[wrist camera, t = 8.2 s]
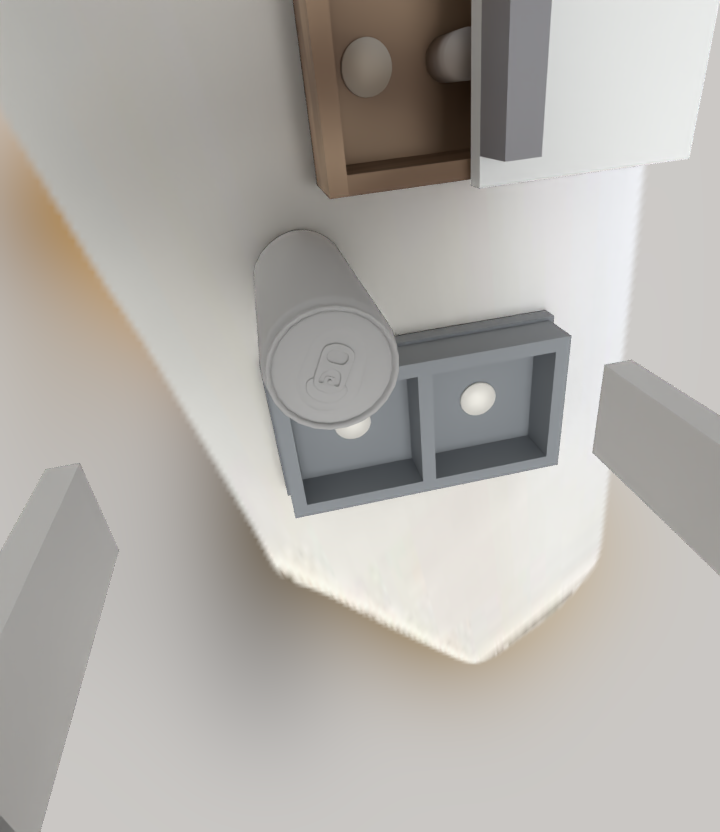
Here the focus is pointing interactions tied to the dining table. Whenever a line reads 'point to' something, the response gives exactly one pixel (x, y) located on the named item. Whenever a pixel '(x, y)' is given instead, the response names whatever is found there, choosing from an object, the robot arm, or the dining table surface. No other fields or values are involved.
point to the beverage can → (320, 334)
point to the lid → (584, 85)
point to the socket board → (439, 417)
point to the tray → (386, 92)
